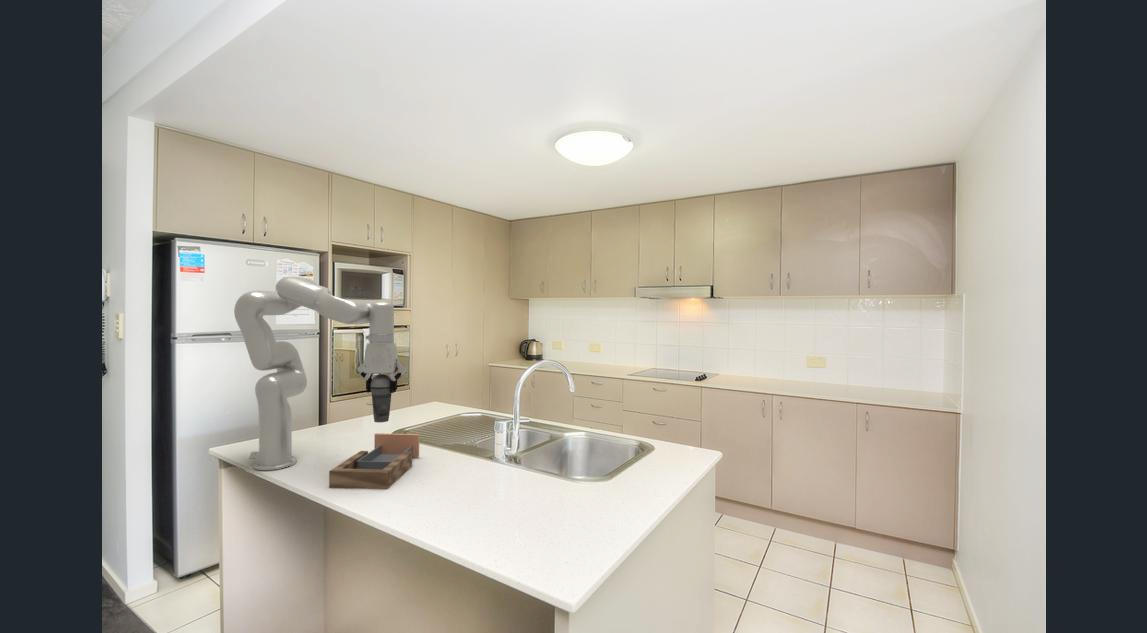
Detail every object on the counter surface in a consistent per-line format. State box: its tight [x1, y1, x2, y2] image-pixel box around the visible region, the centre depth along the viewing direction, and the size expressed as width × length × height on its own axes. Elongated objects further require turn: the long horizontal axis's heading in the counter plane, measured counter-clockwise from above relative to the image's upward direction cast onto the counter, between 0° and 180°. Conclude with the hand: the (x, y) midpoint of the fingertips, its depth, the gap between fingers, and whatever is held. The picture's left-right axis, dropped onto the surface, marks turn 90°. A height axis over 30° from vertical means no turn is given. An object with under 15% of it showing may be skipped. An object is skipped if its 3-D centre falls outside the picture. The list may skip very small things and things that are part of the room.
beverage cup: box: [370, 374, 392, 423], centre depth 158 cm, size 7×7×20 cm
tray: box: [356, 432, 420, 470], centre depth 163 cm, size 19×16×8 cm
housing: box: [328, 450, 413, 490], centre depth 153 cm, size 20×18×5 cm
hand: (381, 391), depth 158 cm, fingers closed on beverage cup, 7 cm apart
